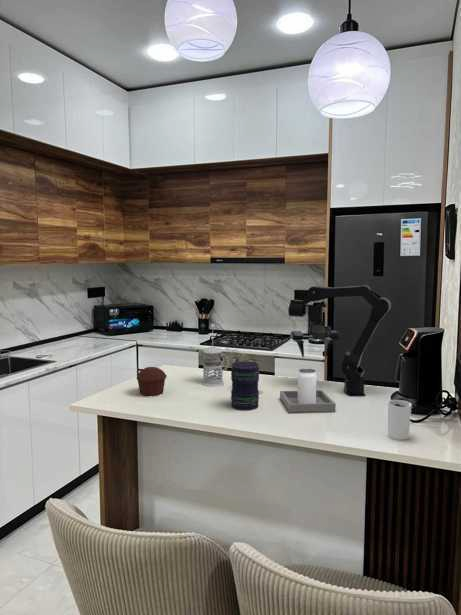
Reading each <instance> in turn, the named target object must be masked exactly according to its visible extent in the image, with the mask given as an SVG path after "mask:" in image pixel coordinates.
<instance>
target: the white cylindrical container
mask: <svg viewBox="0 0 461 615" xmlns="http://www.w3.org/2000/svg"><path fill="white" fill-rule="evenodd" d="M411 414H412V403H411V402H408V401H407V400H401V399H390V400H388V401H387V436H388V438H391V439H394V440H398V441H403V440H404V441H405V440H408V439H409V436H410V435H409V434H410V427H411V426H410V425H411V416H412V415H411Z"/></svg>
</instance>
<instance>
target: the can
mask: <svg viewBox="0 0 461 615" xmlns="http://www.w3.org/2000/svg"><path fill="white" fill-rule="evenodd" d="M316 390H317V374H316V369H312V368H301V369H299V370H298V374H297V391H298V403H299V404H304V403H316Z"/></svg>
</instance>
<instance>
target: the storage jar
mask: <svg viewBox="0 0 461 615" xmlns="http://www.w3.org/2000/svg"><path fill="white" fill-rule="evenodd" d="M230 366H231V372H230V374H231V376H230V380H231V391H230V399H231V408H232V409H234V410H237V411H253V410H257V409H258V408H259V400H260V396H259V395H260V393H259V391H260V390H259V380H260V369H259V367H260V365H259V363H258V362H256V363H254V362H243V361H236V362H233V363H231V365H230ZM258 390H259V391H258Z"/></svg>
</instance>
